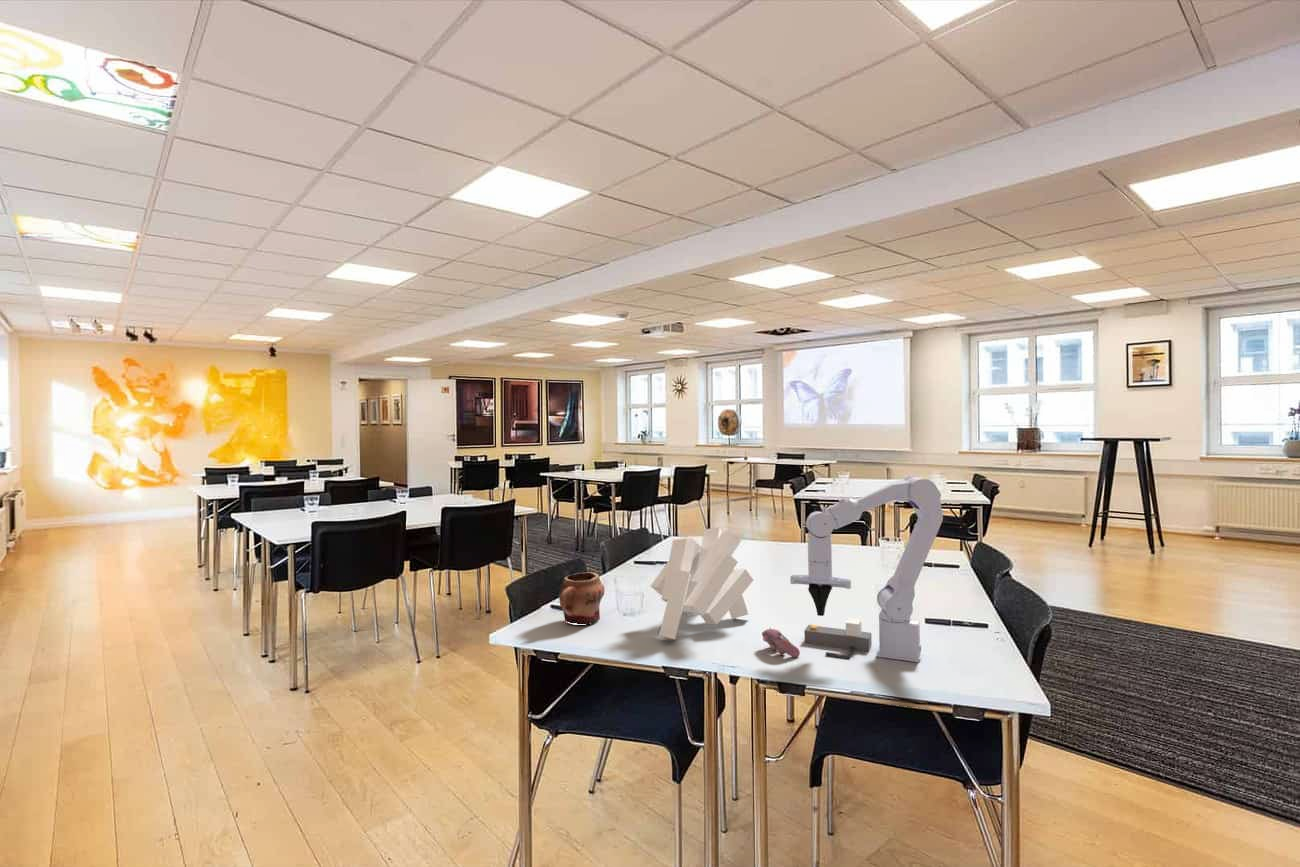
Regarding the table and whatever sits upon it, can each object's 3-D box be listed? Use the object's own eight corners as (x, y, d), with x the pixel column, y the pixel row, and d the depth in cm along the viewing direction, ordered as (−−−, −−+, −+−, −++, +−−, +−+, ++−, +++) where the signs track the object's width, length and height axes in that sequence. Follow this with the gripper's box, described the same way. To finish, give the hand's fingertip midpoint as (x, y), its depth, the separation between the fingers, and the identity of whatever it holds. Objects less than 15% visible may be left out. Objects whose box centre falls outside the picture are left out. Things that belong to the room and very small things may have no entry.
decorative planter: (584, 636, 169) (583, 585, 169) (545, 632, 173) (544, 582, 173) (613, 615, 187) (612, 570, 187) (577, 612, 191) (576, 567, 191)
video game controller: (766, 652, 158) (755, 629, 157) (780, 642, 160) (769, 619, 159) (788, 666, 149) (777, 642, 148) (802, 655, 151) (791, 631, 149)
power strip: (871, 645, 158) (871, 620, 158) (865, 661, 147) (864, 634, 147) (808, 636, 165) (808, 613, 165) (798, 652, 154) (797, 626, 154)
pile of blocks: (738, 673, 155) (786, 544, 163) (630, 623, 160) (682, 500, 168) (728, 661, 188) (769, 555, 196) (639, 620, 193) (682, 518, 201)
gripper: (852, 559, 154) (853, 613, 154) (794, 555, 160) (795, 607, 160) (848, 564, 148) (849, 621, 148) (788, 560, 154) (789, 614, 154)
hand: (820, 614), depth 154 cm, fingers closed
